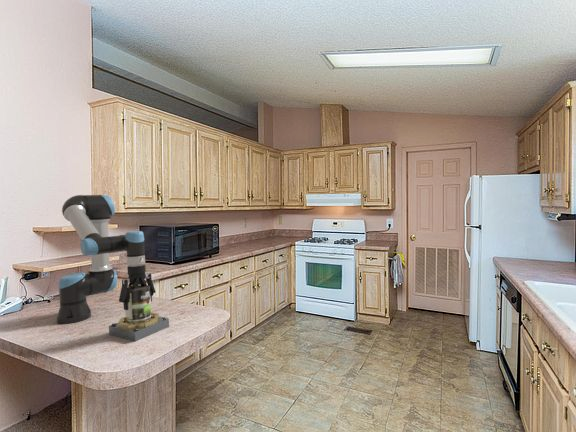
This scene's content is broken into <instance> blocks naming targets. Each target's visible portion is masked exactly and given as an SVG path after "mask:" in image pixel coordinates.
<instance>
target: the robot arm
mask: <svg viewBox="0 0 576 432" xmlns="http://www.w3.org/2000/svg"><path fill="white" fill-rule="evenodd" d="M61 212H62V216H63V217H64V218H65V220H66V221H68V222H70V224H71V225H72V227H73V228H74V230H75V232H76V233H77V235H78V236H79V238H80V240H81V241H80V245H79V246H80V251H81V254H83V255H84V256H90V259H91V260H90V261H91V267H90V268H88V273H87V274H86V272H84V271H78V272H74V273H70V274H66V275H64V276H62V277H60V278H59V280H58V292H59V296H58V297H59V307H58V308H59V309H58V312H57V315H56V323H57V324H60V325H61V324H63V325H65V324H73V323H77V322H81V321H84V320H87V319H89V318H91V317H92V310H91V309H90V306H89V304H88V302H87V301H88V300H87V297H89V296H94V295H99V294H104V293H108V292H112V291H113V290H114V289H115V288H116V287H117V284H118V275H117V271H116V269H113V268H114V267H113V266H112V265H110V254H111V253H119V252H121V253H122V252H126V265H127V268H126V269H127V275H128V277H127V278H126V279H123V278H122V279H121V289H120V293H119V300H118V302H119V303H122V304H123V310H124V311H125V317H131V306H130V302H129V299H130V293H127V290H134V288H135V287H136V286H138V285H141V286H144V287H146V286H147V285H149V286H150V305H151V306H152V302H153V296H154V294H155V293H156V289H155V285H154V283H153V279H152V274H151V273H146V272H147V271H146V268H147V267H146V264H145V263H146V256H145V255H146V254H145V253H146V252H145V235H144V232H143V231H141V230H133V231H132V230H131V231H126V233H125V234H120V235H111V236H109V221H110V220H111V219H112V218H111V217H112V216H114V215H115V212H116V211H115V203H114V201H113V199H112V197H111V196H109V195H106V194H86V195H85V194H78V195H73V196H71V197H70V198H68V199H67V200H66V201H65V202H64V203H63V205H62V208H61ZM127 288H128V289H127Z"/></svg>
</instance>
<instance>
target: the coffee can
mask: <svg viewBox="0 0 576 432" xmlns="http://www.w3.org/2000/svg"><path fill="white" fill-rule="evenodd" d="M127 289H128V288H127ZM127 293H130V299H129V302H130V306H131V317H127V320H128V321H131V322H135V321H142V320H146V319H148V318H150V317H151V312H152V304H151V305H150V286H149V285H148V284H147V286H146V287H144V286H141V285H138V286H136V287H135V288H134V290H127Z"/></svg>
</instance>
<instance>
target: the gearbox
mask: <svg viewBox="0 0 576 432" xmlns="http://www.w3.org/2000/svg"><path fill="white" fill-rule="evenodd" d="M169 327H170V319H169V318H168V317H166V316H164V317H163V316H160V313H158V312H153V311H151V317H150V318H148V319H146V320H142V321H135V322H131V321H128V320H127V317H126V316H123V317H121V318H120V319H119V321H118V322H115V323H112V324H110V325H108V334H109V336H112V337H117V338H120V339H125V340H129V341H132V342H138V341H139V340H142V339H144V338H146V337H149V336H151V335H154V334H156V333H158V332H160V331H163V330H165V329H167V328H169Z"/></svg>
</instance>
